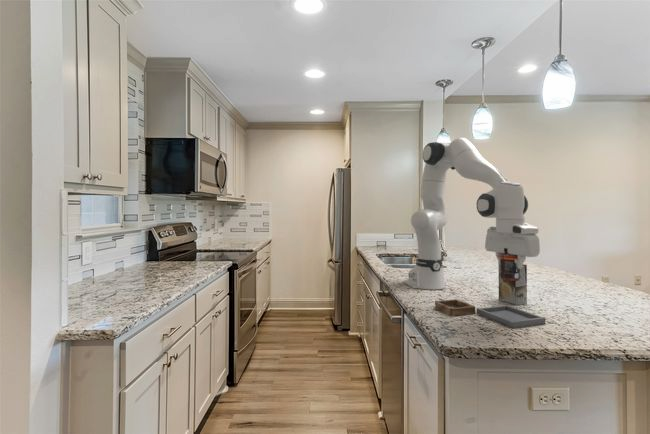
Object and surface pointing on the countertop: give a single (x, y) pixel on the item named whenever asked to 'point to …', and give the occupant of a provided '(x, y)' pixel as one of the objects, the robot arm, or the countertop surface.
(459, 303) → the walnut holder
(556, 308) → the countertop surface
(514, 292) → the coffee box
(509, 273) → the supplement bottle
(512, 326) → the charcoal tray
